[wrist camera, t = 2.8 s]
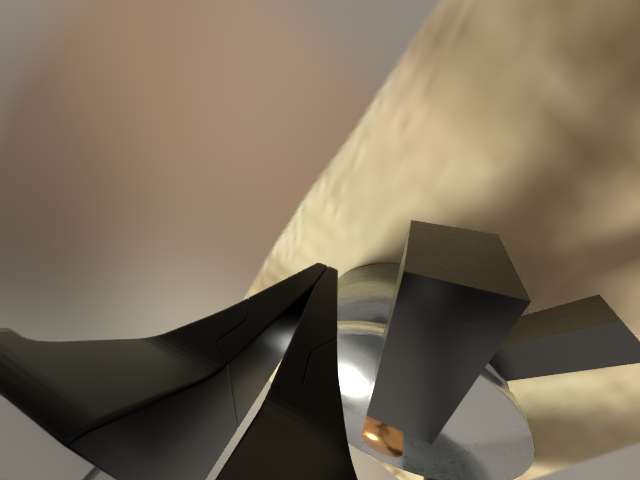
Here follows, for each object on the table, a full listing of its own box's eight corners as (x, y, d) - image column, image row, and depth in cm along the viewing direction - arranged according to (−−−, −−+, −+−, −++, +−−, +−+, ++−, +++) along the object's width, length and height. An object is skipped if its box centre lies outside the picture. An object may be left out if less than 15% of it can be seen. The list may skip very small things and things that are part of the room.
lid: (471, 488, 18) (480, 574, 14) (295, 404, 22) (273, 456, 19) (757, 262, 6) (1096, 436, 3) (274, 187, 11) (211, 225, 8)
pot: (389, 387, 26) (380, 453, 21) (299, 302, 24) (268, 352, 20) (642, 345, 14) (751, 471, 9) (497, 175, 13) (537, 223, 8)
